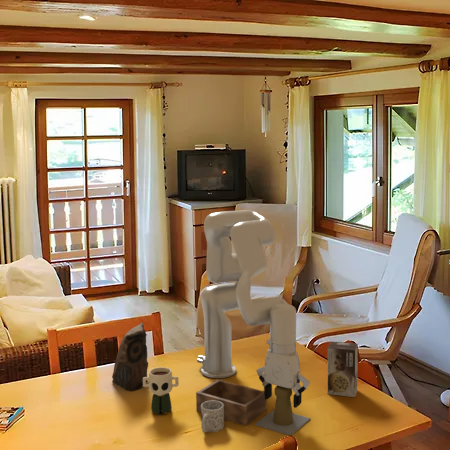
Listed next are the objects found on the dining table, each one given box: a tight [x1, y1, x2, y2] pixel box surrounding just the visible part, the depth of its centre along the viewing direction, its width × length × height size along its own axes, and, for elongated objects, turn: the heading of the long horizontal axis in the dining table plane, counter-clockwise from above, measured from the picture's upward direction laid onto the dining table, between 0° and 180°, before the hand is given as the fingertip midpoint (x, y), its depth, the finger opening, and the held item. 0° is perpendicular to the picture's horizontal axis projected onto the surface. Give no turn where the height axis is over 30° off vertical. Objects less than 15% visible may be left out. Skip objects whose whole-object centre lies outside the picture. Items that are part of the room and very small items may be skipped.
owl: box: [111, 322, 149, 392], centre depth 216 cm, size 13×13×20 cm
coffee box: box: [327, 340, 359, 398], centre depth 208 cm, size 9×6×16 cm
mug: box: [200, 400, 225, 433], centre depth 185 cm, size 10×7×7 cm
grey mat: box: [254, 408, 311, 437], centre depth 189 cm, size 12×12×1 cm
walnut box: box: [195, 378, 268, 427], centre depth 197 cm, size 18×12×6 cm, turn 56°
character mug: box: [142, 366, 180, 415], centre depth 196 cm, size 11×7×13 cm, turn 91°
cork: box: [273, 385, 293, 426], centre depth 188 cm, size 6×6×11 cm
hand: (282, 401), depth 188 cm, fingers open, 9 cm apart
